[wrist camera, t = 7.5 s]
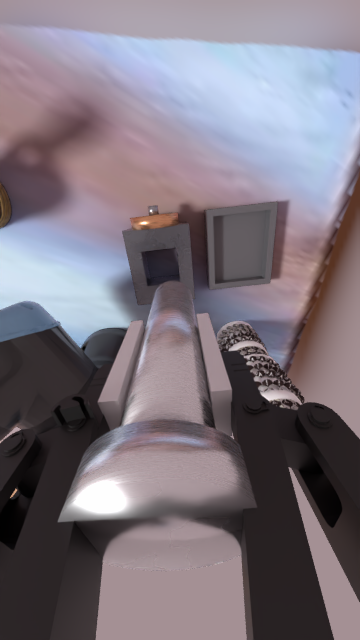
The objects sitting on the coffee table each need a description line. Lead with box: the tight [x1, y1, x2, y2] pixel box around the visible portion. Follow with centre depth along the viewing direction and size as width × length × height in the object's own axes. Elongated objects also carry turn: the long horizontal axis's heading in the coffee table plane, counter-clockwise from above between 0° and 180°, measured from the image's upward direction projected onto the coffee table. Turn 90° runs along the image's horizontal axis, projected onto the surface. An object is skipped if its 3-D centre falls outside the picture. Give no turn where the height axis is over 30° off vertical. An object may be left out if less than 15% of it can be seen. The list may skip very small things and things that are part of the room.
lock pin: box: [58, 281, 257, 571], centre depth 13 cm, size 5×5×16 cm
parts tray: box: [204, 202, 278, 290], centre depth 36 cm, size 13×11×2 cm
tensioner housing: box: [122, 206, 195, 305], centre depth 34 cm, size 15×10×8 cm
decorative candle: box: [216, 321, 304, 410], centre depth 35 cm, size 9×9×25 cm
